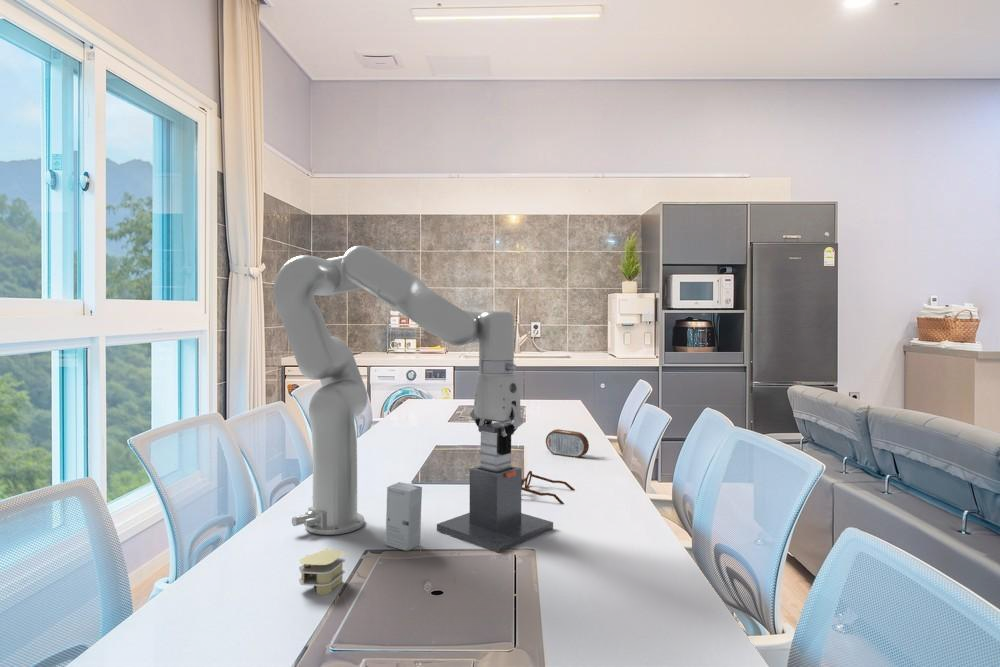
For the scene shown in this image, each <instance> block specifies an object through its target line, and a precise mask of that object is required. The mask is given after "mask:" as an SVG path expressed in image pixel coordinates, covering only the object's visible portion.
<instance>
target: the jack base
mask: <svg viewBox="0 0 1000 667" xmlns="http://www.w3.org/2000/svg"><path fill="white" fill-rule="evenodd" d="M522 472H523V471H522V468H521V467H517V466H514V465H513V466H512V465H511V470H508V471H504V472H501V473H498V474H496V473H492V472H488V471H484V470H481V465H479V466H475V467H472V468H469V512H468V513H465V514H461V515H459V516H456V517H453V518H451V519H447V520H445V521H441V522H439V523H436V531H437V532H438V533H442V534H444V535H447V536H449V537H453V538H456V539H459V540H461V541H465V542H467V543H471V544H473V545H476V546H479V547H481V548H484V549H487V550H490V551H493V552H495V551H496V552H495V553H498V552H500V553H501V551H502V552H504V551H506V550H508V549H511V548H513V547H516V546H517V545H520V544H522V543H525V542H526V541H530V540H532V539H533V538H536V537H538V536H540V535H543V534H545V533H547V532H549V531H550V532H551V530H554V522H553V521H550V520H546V519H544V518H540V517H536V516H533V515H530V514H525V513H523V512H522V490H521V479H523V478H522V475H523V473H522Z"/></svg>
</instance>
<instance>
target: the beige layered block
mask: <svg viewBox="0 0 1000 667" xmlns="http://www.w3.org/2000/svg"><path fill="white" fill-rule="evenodd" d="M345 553H346V552H345V551H341V550H337V549H329V548H327V549H326V548H325V549H323V550H320V551H317V552H314V553H312V554H308V555H305V556H303V557H302V558H301V557H300V559H298V560H299V563H300V564H302V565H301V566H298V570H299V572H300V574H301V577H300V578H299V579H298V582H299V584H300V585H301V586H312V587H314V588H315V587H316V594H318V595H321V596H322V595H328V594H330V593H331V592H333V589H334V588H336V587H337V586H339V584H341V583H342V582H344V581H343V575H344V574H346V570H343V564H344V563H345V562H346V559H345V558H340V557H341V556H342V555H344V554H345Z"/></svg>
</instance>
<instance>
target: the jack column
mask: <svg viewBox="0 0 1000 667" xmlns="http://www.w3.org/2000/svg"><path fill="white" fill-rule="evenodd" d="M506 428H507V424H506ZM479 431H481V432H480V466H481V470H484V471H488V472H492V473H496V474H498V473H501V472H504V471H508V470H511V466H512V465H511V463H512V460H511V459H512V458H511V457H512V455H511V454H512V452H511V453H508V454H504V455H500V454H499V437H500V436H502V434H501V428H500V423H499V422H496V421H495V422H492V423H491V424H485V425H480V426H479V430H478V432H479Z"/></svg>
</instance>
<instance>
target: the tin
mask: <svg viewBox="0 0 1000 667" xmlns="http://www.w3.org/2000/svg"><path fill="white" fill-rule="evenodd" d="M545 445H546V449H547V450H548V451H549V452H550V453H551V454H553V455H557V456H561V457H568V458H574V457H575V458H576V459H577V458H581V457H584V456H585V455H586V454H587V453H588V451H589V448H590V443H589V440H588V438H587V437H586V436H585V435H584V433H582V432H579V431H574V430H565V429H557V428H556V429H554V430H552V431H550V432H549V433H548V434H547V435H546V438H545Z"/></svg>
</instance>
